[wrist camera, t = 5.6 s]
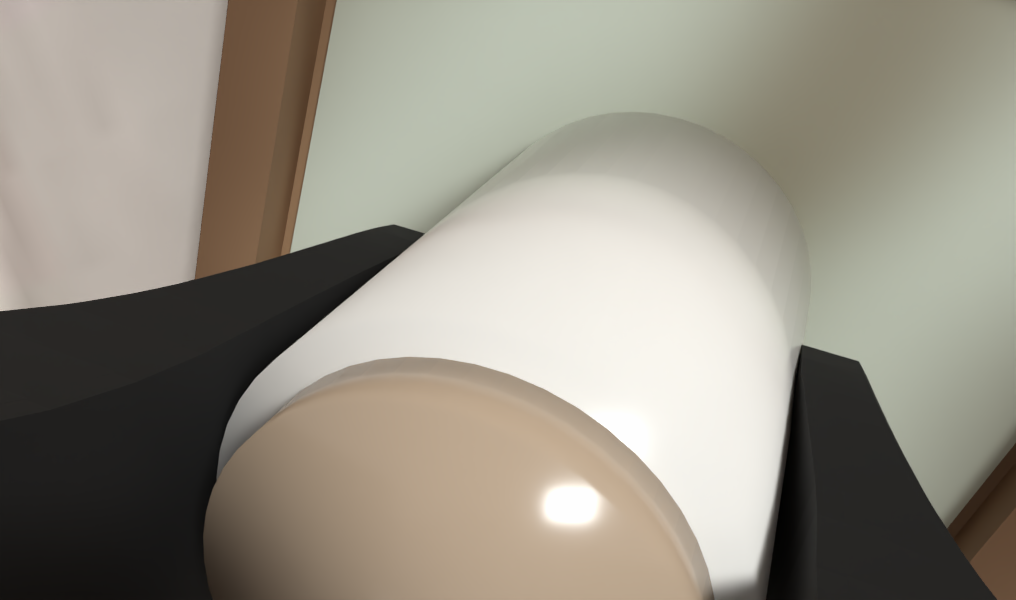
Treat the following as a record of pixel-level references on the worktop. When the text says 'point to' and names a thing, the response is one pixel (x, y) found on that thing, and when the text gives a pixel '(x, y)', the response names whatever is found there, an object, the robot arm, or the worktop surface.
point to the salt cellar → (538, 392)
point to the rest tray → (703, 101)
